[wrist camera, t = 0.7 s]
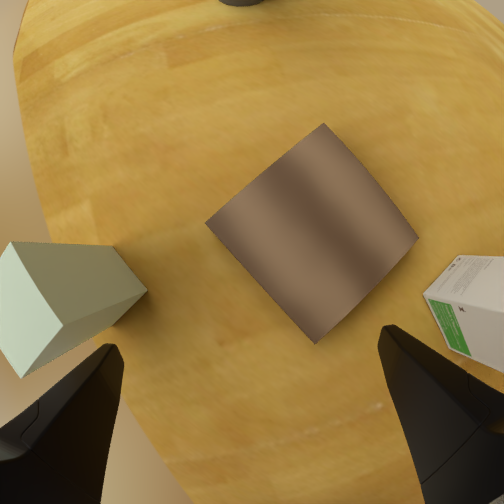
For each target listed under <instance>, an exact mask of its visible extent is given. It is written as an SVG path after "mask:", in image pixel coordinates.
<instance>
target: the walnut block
mask: <svg viewBox="0 0 504 504" xmlns="http://www.w3.org/2000/svg"><path fill="white" fill-rule="evenodd" d="M205 224H206V225H207V226H208V227H209V228H210V230H211V231H212V232H213V233H214V234H215V235H216V236H217V237H218V239H219V240H220V241H221V242H222V243H223V244H224V245H225V246H226V248H227V249H228V250H229V251H230V252H231V253H232V254H233V255H234V256H235V258H236V259H237V260H238V261H239V262H240V263H241V264H242V265H243V266H244V268H245V269H246V270H247V271H248V272H249V273H250V274H251V275H252V276H253V278H254V279H255V280H256V281H257V282H258V283H259V284H260V285H261V286H262V287H263V289H264V290H265V291H266V292H267V293H268V294H269V295H270V296H271V297H272V298H273V300H274V301H275V302H276V303H277V304H278V305H279V306H280V307H281V308H282V309H283V310H284V312H285V313H286V314H287V315H288V316H289V317H290V318H291V319H292V320H293V321H294V322H295V324H296V325H297V326H298V327H299V328H300V329H301V330H302V331H303V332H304V333H305V334H306V335H307V337H308V338H309V339H310V340H311V341H312V342H313V343H314V344H316V343H317V342H318V341H319V340H320V339H321V338H323V337H324V336H325V335H326V334H327V333H328V332H329V331H330V330H331V329H332V328H333V327H334V326H336V325H337V324H338V323H339V322H340V321H341V320H342V319H343V318H344V317H345V316H346V315H347V314H348V313H349V312H350V311H351V310H352V309H353V308H354V307H355V306H356V305H357V304H358V303H359V302H360V301H361V300H362V299H363V298H364V297H365V296H366V295H367V294H368V293H369V292H370V291H371V290H372V289H373V288H374V287H375V286H376V285H377V284H378V283H379V282H380V281H381V280H382V279H383V278H384V277H385V276H386V274H387V273H388V272H389V271H390V270H391V269H392V268H393V267H394V266H395V265H396V264H397V263H398V261H399V260H400V259H401V258H402V257H403V256H404V255H405V254H406V252H407V251H408V250H409V249H410V248H411V247H412V246H413V244H414V243H415V242H416V241H417V240H418V239H419V237H418V236H417V234H416V233H415V231H414V230H413V229H412V227H411V226H410V224H409V223H408V222H407V220H406V219H405V218H404V216H403V215H402V213H401V212H400V211H399V209H398V208H397V207H396V205H395V204H394V203H393V202H392V200H391V199H390V198H389V196H388V195H387V194H386V193H385V191H384V190H383V189H382V188H381V186H380V185H379V184H378V183H377V181H376V180H375V179H374V178H373V177H372V175H371V174H370V173H369V172H368V171H367V169H366V168H365V167H364V166H363V165H362V164H361V163H360V161H359V160H358V159H357V158H356V157H355V156H354V155H353V153H352V152H351V151H350V150H349V149H348V148H347V147H346V146H345V145H344V143H343V142H342V141H341V140H340V139H339V138H338V137H337V136H336V135H335V134H334V133H333V132H332V131H331V130H330V129H329V128H328V127H327V125H326V124H325V123H323V124H321V125H320V126H319V127H318V128H316V129H315V130H314V131H312V132H311V133H310V134H309V135H307V136H306V137H305V138H304V139H302V140H301V141H300V142H299V143H297V144H296V145H295V146H294V147H293V148H291V149H290V150H289V151H288V152H286V153H285V154H284V155H283V156H282V157H280V158H279V159H278V160H277V161H276V162H274V163H273V164H272V165H271V166H270V167H268V168H267V169H266V170H265V171H264V172H262V173H261V174H260V175H259V176H258V177H256V178H255V179H254V180H253V181H252V182H251V183H249V184H248V185H247V186H246V187H245V188H244V189H242V190H241V191H240V192H239V193H238V194H237V195H236V196H234V197H233V198H232V199H231V200H230V201H229V202H228V203H226V204H225V205H224V206H223V207H222V208H221V209H220V210H219V211H217V212H216V213H215V214H214V215H213V216H212V217H211V218H210V219H208V220H207V221H206V222H205Z"/></svg>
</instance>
